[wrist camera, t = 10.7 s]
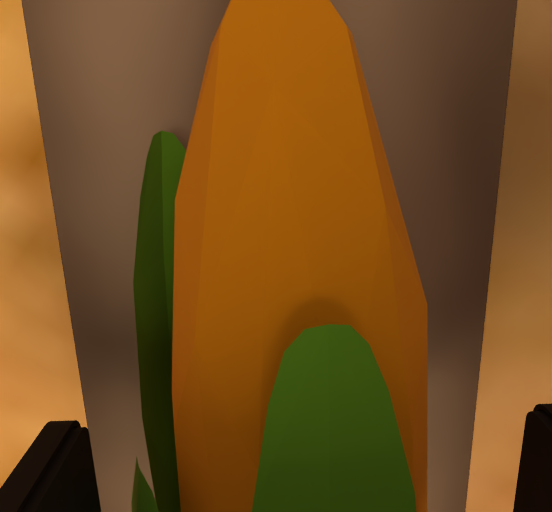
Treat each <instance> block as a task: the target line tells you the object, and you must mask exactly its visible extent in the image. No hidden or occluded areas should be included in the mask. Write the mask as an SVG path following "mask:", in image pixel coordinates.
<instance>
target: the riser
mask: <svg viewBox="0 0 552 512" xmlns="http://www.w3.org/2000/svg"><path fill="white" fill-rule="evenodd" d="M229 2H230V0H22V7H23V13H24V19H25V26H26V32H27V39H28V45H29V52H30V58H31V65H32V71H33V77H34V84H35V90H36V97H37V103H38V110H39V116H40V123H41V129H42V135H43V142H44V148H45V155H46V161H47V168H48V174H49V181H50V187H51V194H52V200H53V206H54V213H55V219H56V226H57V232H58V239H59V245H60V252H61V258H62V264H63V271H64V277H65V284H66V290H67V297H68V303H69V310H70V316H71V322H72V329H73V335H74V342H75V348H76V355H77V361H78V368H79V374H80V380H81V387H82V393H83V400H84V406H85V413H86V419H87V426H88V431H89V435H90V442H91V448H92V455H93V461H94V468H95V474H96V480H97V487H98V493H99V500H100V506H101V512H132V511H131V500H132V491H133V483H134V474H135V465H136V457H137V460H138V465H139V468H140V470H141V472H142V474H143V475H144V477H145V479H146V481H147V483H148V485H149V486H150V488H151V490H152V492H153V495H154V488H153V482H152V476H151V470H150V464H149V457H148V451H147V445H146V439H145V433H144V426H143V420H142V409H141V394H140V379H139V364H138V349H137V334H136V319H135V304H134V290H133V278H134V266H135V253H136V241H137V229H138V217H139V205H140V195H141V189H142V183H143V177H144V171H145V165H146V159H147V154H148V151H149V148H150V144H151V141H152V138H153V135H155V134H156V133H158V132H160V131H165V132H169V133H173V134H174V135H175V136H176V137H177V139H178V140H179V141H180V143H181V144H182V145H183V147H184V148H185V149H186V150H187V146H188V141H189V137H190V133H191V129H192V124H193V120H194V116H195V111H196V107H197V103H198V98H199V94H200V90H201V85H202V81H203V77H204V73H205V68H206V64H207V60H208V55H209V51H210V47H211V44H212V41H213V39H214V37H215V35H216V32H217V30H218V28H219V25H220V23H221V21H222V19H223V16H224V14H225V12H226V9H227V7H228V5H229ZM330 2H331V3H332V5H333V6H334V8H335V9H336V10H337V12H338V13H339V15H340V16H341V18H342V19H343V21H344V22H345V24H346V25H347V27H348V28H349V30H350V31H351V33H352V35H353V39H354V42H355V46H356V49H357V53H358V57H359V60H360V64H361V67H362V71H363V75H364V78H365V82H366V85H367V89H368V93H369V96H370V100H371V103H372V107H373V111H374V114H375V118H376V121H377V125H378V129H379V132H380V136H381V139H382V143H383V147H384V150H385V154H386V157H387V161H388V164H389V168H390V172H391V175H392V179H393V182H394V186H395V190H396V193H397V197H398V200H399V204H400V208H401V211H402V215H403V218H404V222H405V226H406V229H407V233H408V236H409V240H410V244H411V247H412V251H413V254H414V258H415V262H416V265H417V269H418V272H419V276H420V280H421V283H422V287H423V290H424V294H425V298H426V301H427V512H465V508H466V499H467V489H468V479H469V469H470V459H471V449H472V440H473V430H474V420H475V410H476V400H477V391H478V381H479V371H480V361H481V351H482V341H483V332H484V322H485V312H486V302H487V292H488V283H489V273H490V263H491V253H492V243H493V233H494V224H495V214H496V204H497V194H498V184H499V175H500V165H501V155H502V145H503V135H504V125H505V116H506V106H507V96H508V86H509V76H510V66H511V57H512V47H513V37H514V27H515V17H516V8H517V0H330ZM154 498H155V495H154Z"/></svg>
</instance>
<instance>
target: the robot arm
mask: <svg viewBox="0 0 552 512" xmlns="http://www.w3.org/2000/svg"><path fill="white" fill-rule="evenodd" d="M0 512H101V506H100V500H99V493H98V487H97V480H96V474H95V468H94V461H93V455H92V448H91V442H90V435H89V431H88V429H87V428H86V427H81V426H80V423H79V422H78V421H76V420H75V421H50V422H48V423H47V424H46V425H45V426H44V428H43V429H42V430H41V432H40V433H39V435H38V436H37V438H36V439H35V440H34V442H33V443H32V445H31V446H30V447H29V449H28V450H27V452H26V453H25V454H24V456H23V457H22V459H21V460H20V462H19V463H18V464H17V466H16V467H15V469H14V470H13V471H12V473H11V474H10V476H9V477H8V478H7V480H6V481H5V483H4V484H3V486H2V487H1V488H0ZM513 512H552V404H538V405H536V406H535V408H534V410H533V411H531V412H528V414H527V416H526V421H525V429H524V436H523V443H522V451H521V458H520V465H519V473H518V480H517V487H516V495H515V502H514V509H513Z"/></svg>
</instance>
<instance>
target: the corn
mask: <svg viewBox="0 0 552 512" xmlns="http://www.w3.org/2000/svg"><path fill="white" fill-rule="evenodd" d="M133 290H134V304H135V319H136V334H137V349H138V364H139V379H140V394H141V409H142V420H143V426H144V433H145V439H146V445H147V451H148V457H149V464H150V470H151V476H152V482H153V488H154V495H155V498H154V495H153V492H152V490H151V488H150V486H149V485H148V483H147V481H146V479H145V477H144V475H143V474H142V472H141V470H140V468H139V465H138V460H137V457H136V465H135V474H134V483H133V491H132V500H131V511H132V512H427V301H426V298H425V294H424V290H423V287H422V283H421V280H420V276H419V272H418V269H417V265H416V262H415V258H414V254H413V251H412V247H411V244H410V240H409V236H408V233H407V229H406V226H405V222H404V218H403V215H402V211H401V208H400V204H399V200H398V197H397V193H396V190H395V186H394V182H393V179H392V175H391V172H390V168H389V164H388V161H387V157H386V154H385V150H384V147H383V143H382V139H381V136H380V132H379V129H378V125H377V121H376V118H375V114H374V111H373V107H372V103H371V100H370V96H369V93H368V89H367V85H366V82H365V78H364V75H363V71H362V67H361V64H360V60H359V57H358V53H357V49H356V46H355V42H354V39H353V35H352V33H351V31H350V30H349V28H348V27H347V25H346V24H345V22H344V21H343V19H342V18H341V16H340V15H339V13H338V12H337V10H336V9H335V8H334V6H333V5H332V3H331V2H330V0H230V2H229V5H228V7H227V9H226V12H225V14H224V16H223V19H222V21H221V23H220V25H219V28H218V30H217V32H216V35H215V37H214V39H213V41H212V44H211V47H210V51H209V55H208V60H207V64H206V68H205V73H204V77H203V81H202V85H201V90H200V94H199V98H198V103H197V107H196V111H195V116H194V120H193V124H192V129H191V133H190V137H189V141H188V146H187V150H186V149H185V148H184V147H183V145H182V144H181V143H180V141H179V140H178V139H177V137H176V136H175V135H174V134H173V133H169V132H165V131H160V132H158V133H156V134H155V135H153V138H152V141H151V144H150V148H149V151H148V154H147V159H146V165H145V171H144V177H143V183H142V189H141V195H140V205H139V217H138V229H137V241H136V253H135V266H134V278H133Z"/></svg>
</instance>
